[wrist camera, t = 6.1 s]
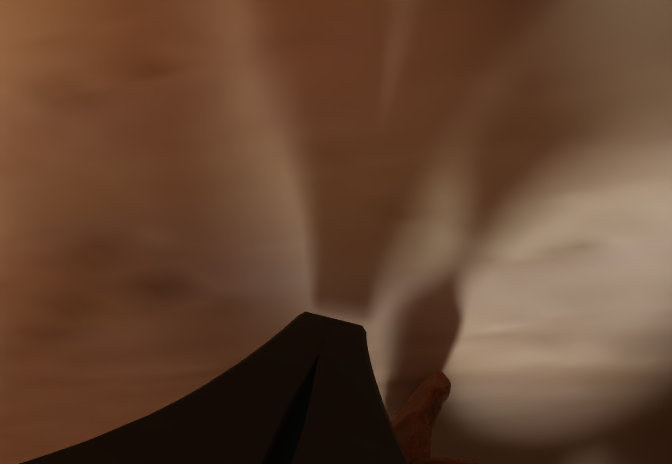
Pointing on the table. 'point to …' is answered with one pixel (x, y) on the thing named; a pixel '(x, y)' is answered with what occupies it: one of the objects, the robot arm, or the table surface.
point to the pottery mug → (422, 420)
